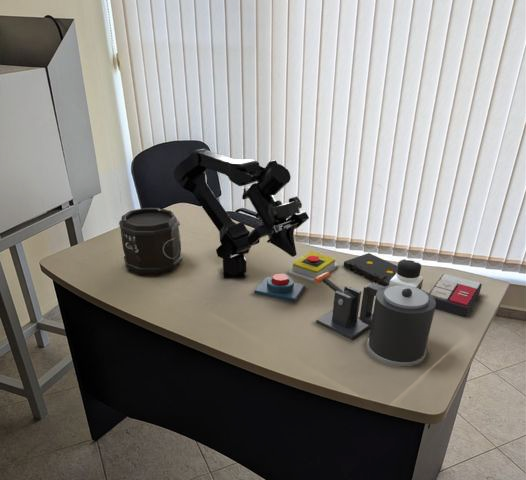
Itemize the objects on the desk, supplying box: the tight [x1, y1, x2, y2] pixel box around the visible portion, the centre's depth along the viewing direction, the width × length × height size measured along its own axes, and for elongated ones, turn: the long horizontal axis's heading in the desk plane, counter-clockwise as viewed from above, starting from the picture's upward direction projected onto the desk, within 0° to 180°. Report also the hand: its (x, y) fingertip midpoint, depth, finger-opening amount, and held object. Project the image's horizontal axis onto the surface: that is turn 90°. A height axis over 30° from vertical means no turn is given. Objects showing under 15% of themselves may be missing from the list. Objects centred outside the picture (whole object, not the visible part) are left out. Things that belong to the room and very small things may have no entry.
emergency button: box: [289, 251, 339, 282], centre depth 152 cm, size 9×4×15 cm
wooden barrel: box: [118, 207, 183, 277], centre depth 150 cm, size 18×18×16 cm
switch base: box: [315, 285, 371, 341], centre depth 123 cm, size 11×9×10 cm
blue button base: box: [253, 275, 306, 303], centre depth 139 cm, size 12×9×4 cm
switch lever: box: [313, 272, 356, 304], centre depth 123 cm, size 11×5×2 cm, turn 46°
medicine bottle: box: [389, 258, 424, 289], centre depth 134 cm, size 7×7×12 cm
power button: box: [272, 272, 289, 285], centre depth 138 cm, size 4×4×2 cm
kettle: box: [359, 282, 436, 367], centre depth 114 cm, size 17×14×16 cm
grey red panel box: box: [428, 273, 483, 318], centre depth 137 cm, size 11×4×15 cm
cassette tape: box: [343, 252, 398, 287], centre depth 151 cm, size 18×12×2 cm, turn 37°
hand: (294, 255), depth 129 cm, fingers closed
